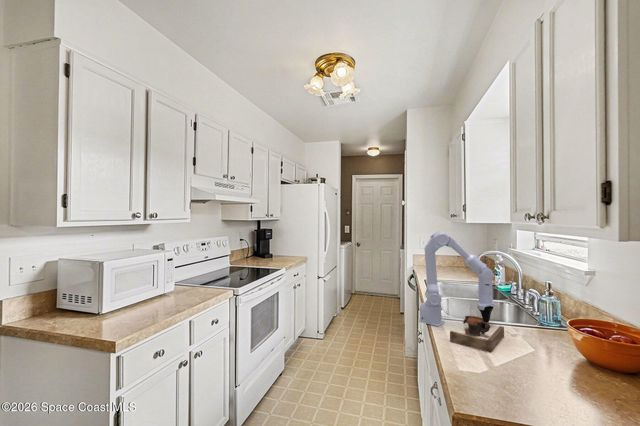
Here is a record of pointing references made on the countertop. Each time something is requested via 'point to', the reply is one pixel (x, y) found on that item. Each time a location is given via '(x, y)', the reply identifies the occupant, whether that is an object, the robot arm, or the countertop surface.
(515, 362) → the countertop surface
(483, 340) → the walnut corner walls
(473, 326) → the pottery mug
